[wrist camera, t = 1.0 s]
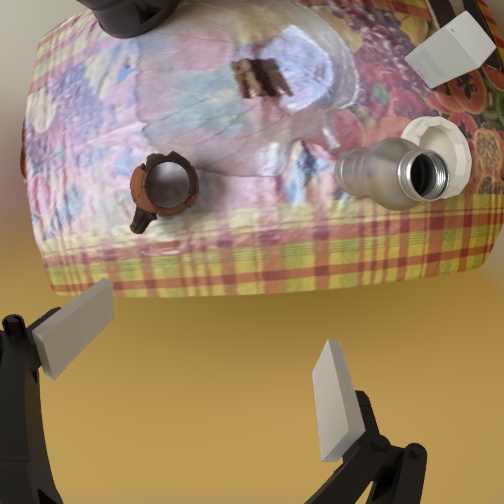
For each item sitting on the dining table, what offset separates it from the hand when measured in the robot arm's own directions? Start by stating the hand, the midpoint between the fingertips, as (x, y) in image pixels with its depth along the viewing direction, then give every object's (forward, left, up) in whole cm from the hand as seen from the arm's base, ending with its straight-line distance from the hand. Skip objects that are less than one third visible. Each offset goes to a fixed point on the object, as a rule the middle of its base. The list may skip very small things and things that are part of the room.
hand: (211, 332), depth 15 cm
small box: (-34, +22, -24) cm, 47 cm away
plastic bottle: (-12, +12, -24) cm, 29 cm away
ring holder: (-18, +24, -24) cm, 38 cm away
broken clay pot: (-4, -13, -24) cm, 28 cm away
